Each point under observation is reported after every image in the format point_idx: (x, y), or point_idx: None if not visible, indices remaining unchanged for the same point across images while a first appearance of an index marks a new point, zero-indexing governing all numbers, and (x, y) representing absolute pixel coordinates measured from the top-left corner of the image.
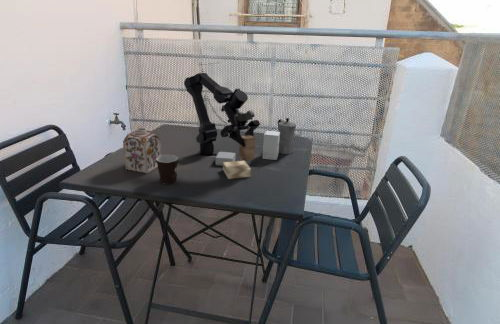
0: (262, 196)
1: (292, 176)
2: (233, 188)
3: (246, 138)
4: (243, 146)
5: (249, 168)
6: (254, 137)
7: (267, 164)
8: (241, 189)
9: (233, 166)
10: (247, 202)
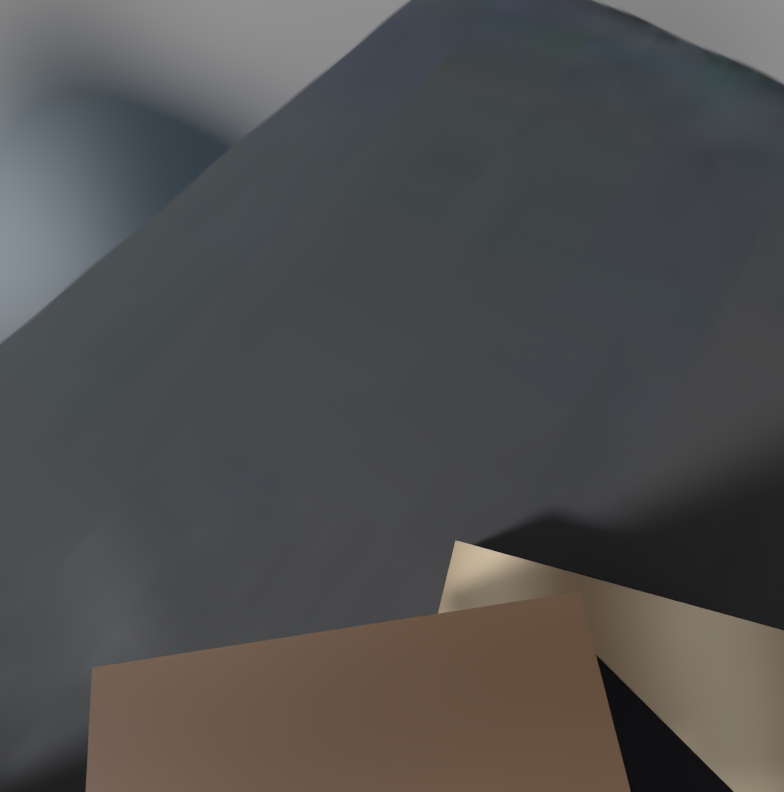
0: (572, 170)
1: (104, 362)
2: (766, 386)
3: (521, 712)
4: None
5: (465, 564)
6: (137, 662)
7: (62, 775)
8: (693, 336)
9: None
10: (736, 136)
